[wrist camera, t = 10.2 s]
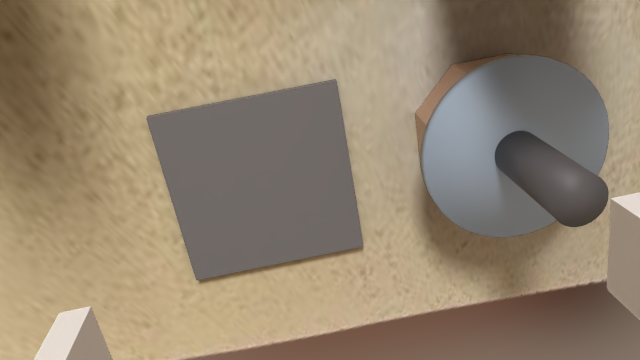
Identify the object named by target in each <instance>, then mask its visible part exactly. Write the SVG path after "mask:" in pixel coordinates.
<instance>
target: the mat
mask: <svg viewBox="0 0 640 360" xmlns="http://www.w3.org/2000/svg"><path fill="white" fill-rule="evenodd" d="M146 119H147V122H148V125H149V129H150V132H151V135H152V138H153V141H154V145H155V148H156V151H157V154H158V158H159V161H160V164H161V167H162V171H163V174H164V177H165V180H166V184H167V187H168V190H169V193H170V197H171V200H172V203H173V206H174V209H175V213H176V216H177V219H178V222H179V226H180V229H181V232H182V235H183V239H184V242H185V245H186V248H187V252H188V255H189V258H190V261H191V264H192V268H193V271H194V274H195V277H196V280H201V279H206V278H211V277H216V276H221V275H226V274H231V273H236V272H241V271H246V270H250V269H255V268H260V267H265V266H270V265H275V264H280V263H285V262H290V261H295V260H300V259H304V258H309V257H314V256H319V255H324V254H329V253H334V252H339V251H344V250H349V249H354V248H358V247H363V240H362V234H361V228H360V222H359V216H358V210H357V203H356V197H355V191H354V185H353V179H352V173H351V167H350V160H349V154H348V148H347V142H346V136H345V130H344V124H343V118H342V111H341V105H340V99H339V93H338V87H337V81H336V79H335V80H330V81H324V82H319V83H314V84H309V85H304V86H299V87H294V88H289V89H284V90H278V91H273V92H268V93H263V94H258V95H253V96H248V97H243V98H237V99H232V100H227V101H222V102H217V103H212V104H207V105H202V106H196V107H191V108H186V109H181V110H176V111H171V112H166V113H161V114H155V115H150V116H148V117H147V118H146Z"/></svg>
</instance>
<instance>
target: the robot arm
mask: <svg viewBox="0 0 640 360" xmlns="http://www.w3.org/2000/svg"><path fill="white" fill-rule="evenodd" d="M607 290H608V291H609V292H610V293H611V294H612V295H613V296H615V297H616V298H617V299H618V300H619V301H620V302H621V303H622V304H623V305H624V306H625V307H626V308H627V309H628V310H629V311H630V312H632V314H634V315H635V316H636V317H637V318H638V319H639V320H640V192H639V193H635V194H630V195H625V196H620V197H615V198H611V204H610V227H609V250H608V273H607ZM34 360H113V359H112V357H111V354H110V352H109V350H108V347H107V345H106V342H105V340H104V337H103V335H102V332H101V330H100V327H99V325H98V322H97V320H96V318H95V315H94V313H93V310H92V308H91V306H90V307H85V308H80V309H75V310H71V311H66V312H61V313H59V314H58V316H57V318H56V320H55V322H54V324H53V325H52V327H51V329H50V331H49V333H48V334H47V336H46V338H45V340H44V342H43V344H42V345H41V347H40V349H39V351H38V353H37V354H36V356H35V358H34Z"/></svg>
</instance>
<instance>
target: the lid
mask: <svg viewBox="0 0 640 360" xmlns="http://www.w3.org/2000/svg"><path fill="white" fill-rule="evenodd" d="M608 140H609V122H608V116H607V111H606V108H605V105H604V102H603V100H602V98H601V96H600V94H599V92H598V91H597V89H596V88H595V86H594V85H593V84H592V82H591V81H590V80H589V79H588V78H587V77H586V76H585V75H583V74H582V73H581V72H579V71H578V70H576V69H575V68H573V67H571V66H569V65H567V64H565V63H563V62H560V61H557V60H554V59H551V58H548V57H544V56H538V55H513V56H507V57H503V58H499V59H495V60H493V61H490V62H488V63H485V64H483V65H481V66H479V67H477V68H475V69H474V70H472V71H470V72H469V73H467V74H466V75H465V76H463V77H462V78H461V79H459V80H458V81H457V82H456V83H455V84H454V85H453V86H452V87H451V88H450V89H449V90H448V91H447V92H446V93H445V94H444V96H443V97H442V98H441V99H440V101H439V102H438V104H437V105H436V107H435V108H434V110H433V112H432V114H431V116H430V118H429V120H428V123H427V125H426V128H425V131H424V134H423V139H422V143H421V153H420V160H421V171H422V176H423V180H424V183H425V186H426V188H427V190H428V192H429V194H430V196H431V198H432V199H433V201H434V202H435V203H436V205H437V206H438V208H439V209H440V210H441V212H442V213H443V214H444V215H445V216H446V217H447V218H448V219H450V220H451V221H452V222H453V223H455V224H456V225H458V226H459V227H461V228H463V229H465V230H467V231H470V232H472V233H475V234H479V235H483V236H489V237H513V236H520V235H524V234H527V233H531V232H534V231H536V230H539V229H542V228H544V227H546V226H548V225H550V224H552V223H553V222H555V221H559V222H560V223H561V224H563V225H566V226H569V227H578V226H583V225H586V224H588V223H590V222H592V221H593V220H595V219H596V218H597V217H598V216H599V215H600V214H601V213H602V211H603V210H604V208H605V206H606V204H607V201H608V188H607V185H606V183H605V182H604V181H603V180H602V179H601V178H600V177H598V174H599V172H600V170H601V168H602V165H603V163H604V160H605V157H606V152H607V148H608Z"/></svg>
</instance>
